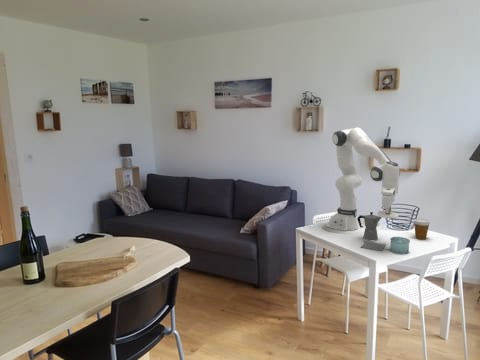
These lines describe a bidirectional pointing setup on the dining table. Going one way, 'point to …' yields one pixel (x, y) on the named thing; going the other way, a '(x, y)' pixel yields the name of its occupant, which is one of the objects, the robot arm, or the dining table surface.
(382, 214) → the lid
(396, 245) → the crock
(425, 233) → the disposable coffee cup
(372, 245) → the mat
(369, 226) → the coffeepot
